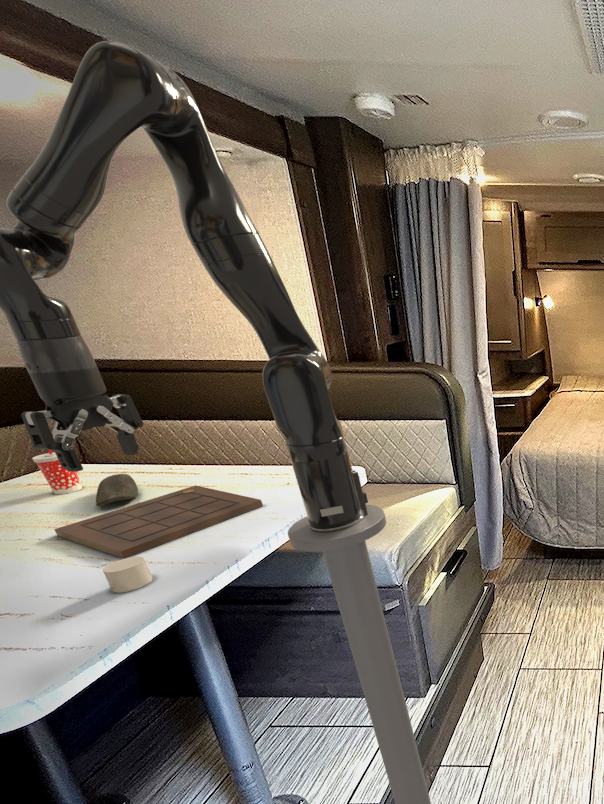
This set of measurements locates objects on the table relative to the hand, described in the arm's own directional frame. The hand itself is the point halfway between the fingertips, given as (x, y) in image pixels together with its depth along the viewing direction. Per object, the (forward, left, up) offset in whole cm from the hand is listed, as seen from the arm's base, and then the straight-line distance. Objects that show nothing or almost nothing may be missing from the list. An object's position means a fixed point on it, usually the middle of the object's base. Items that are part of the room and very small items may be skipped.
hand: (105, 462), depth 86 cm
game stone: (+7, +13, -17) cm, 23 cm away
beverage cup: (-10, -54, -17) cm, 57 cm away
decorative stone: (-12, -36, -17) cm, 41 cm away
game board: (-9, -11, -17) cm, 22 cm away
